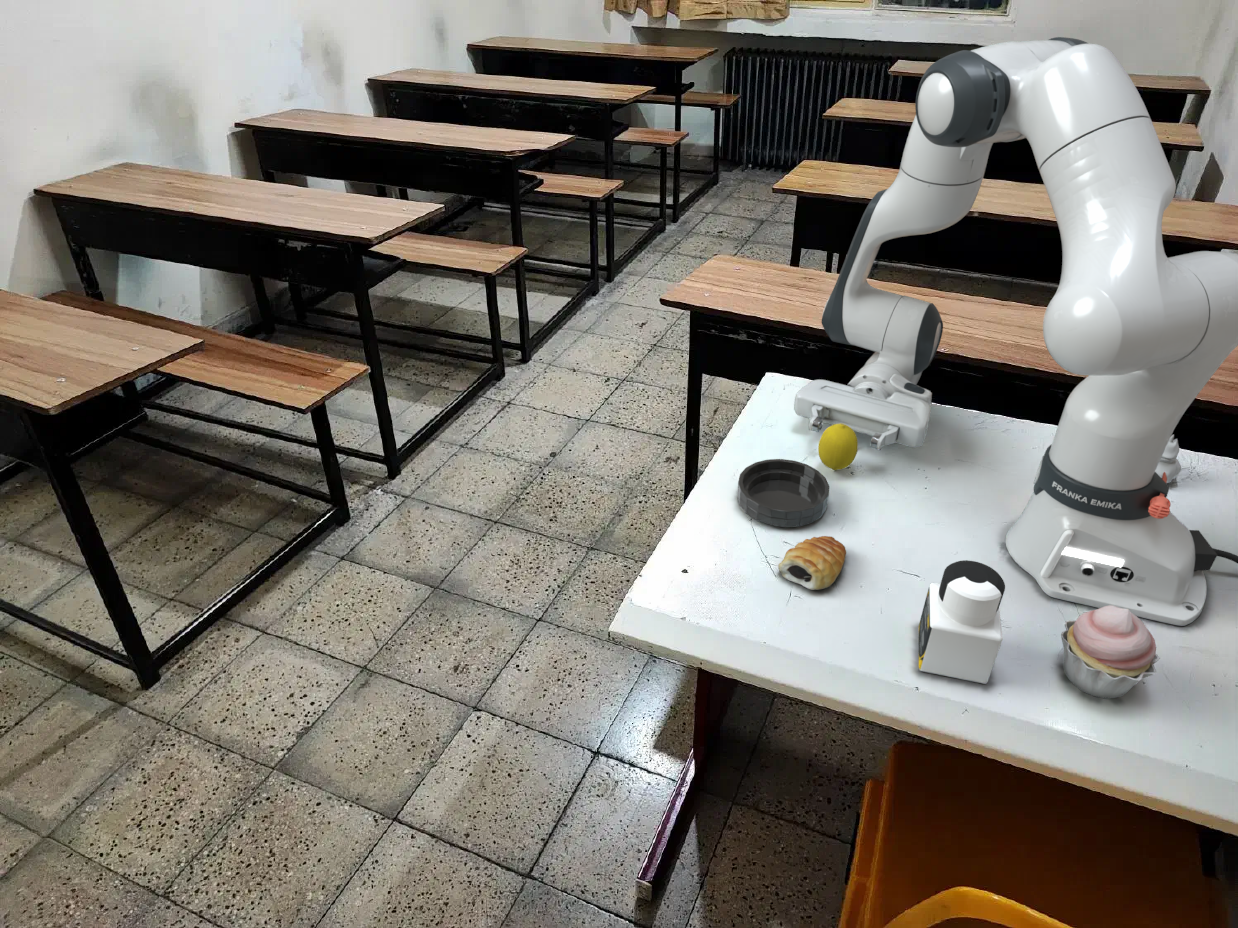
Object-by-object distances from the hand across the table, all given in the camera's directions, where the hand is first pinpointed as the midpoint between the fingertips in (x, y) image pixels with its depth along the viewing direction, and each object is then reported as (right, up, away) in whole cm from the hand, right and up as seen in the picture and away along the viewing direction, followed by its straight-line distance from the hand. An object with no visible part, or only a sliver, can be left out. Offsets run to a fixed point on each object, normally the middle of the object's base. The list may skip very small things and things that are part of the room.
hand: (843, 435), depth 120 cm
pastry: (-9, -18, -17) cm, 26 cm away
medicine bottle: (+4, -26, -29) cm, 39 cm away
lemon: (-1, -5, +2) cm, 6 cm away
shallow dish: (-10, -10, -5) cm, 15 cm away
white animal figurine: (+44, -6, -1) cm, 45 cm away
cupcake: (+19, -27, -31) cm, 46 cm away
